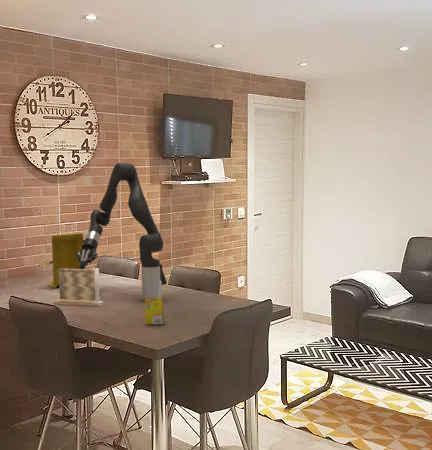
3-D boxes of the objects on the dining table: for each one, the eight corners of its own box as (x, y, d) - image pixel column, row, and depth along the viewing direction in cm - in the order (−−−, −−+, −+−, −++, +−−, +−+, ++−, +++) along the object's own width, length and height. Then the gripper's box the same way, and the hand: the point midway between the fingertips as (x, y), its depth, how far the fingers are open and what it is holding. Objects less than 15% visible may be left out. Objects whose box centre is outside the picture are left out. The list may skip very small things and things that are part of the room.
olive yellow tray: (88, 280, 354) (86, 230, 351) (97, 284, 343) (96, 232, 340) (36, 286, 336) (34, 234, 333) (44, 290, 325) (42, 236, 322)
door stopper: (153, 286, 335) (152, 265, 334) (148, 284, 340) (147, 263, 339) (167, 284, 340) (166, 263, 339) (162, 282, 345) (161, 262, 344)
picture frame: (103, 303, 293) (102, 267, 291) (99, 306, 288) (98, 269, 286) (58, 301, 299) (56, 266, 297) (53, 303, 294) (51, 267, 292)
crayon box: (163, 322, 257) (162, 296, 256) (162, 324, 254) (162, 297, 253) (146, 322, 257) (145, 296, 256) (145, 324, 254) (144, 297, 253)
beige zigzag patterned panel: (95, 300, 292) (94, 269, 290) (93, 301, 290) (93, 269, 289) (61, 298, 296) (60, 268, 295) (59, 299, 295) (58, 268, 293)
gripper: (77, 237, 313) (67, 263, 303) (100, 237, 310) (90, 264, 300) (82, 245, 319) (72, 272, 308) (105, 246, 316) (95, 273, 305)
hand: (81, 268), depth 304 cm, fingers closed
